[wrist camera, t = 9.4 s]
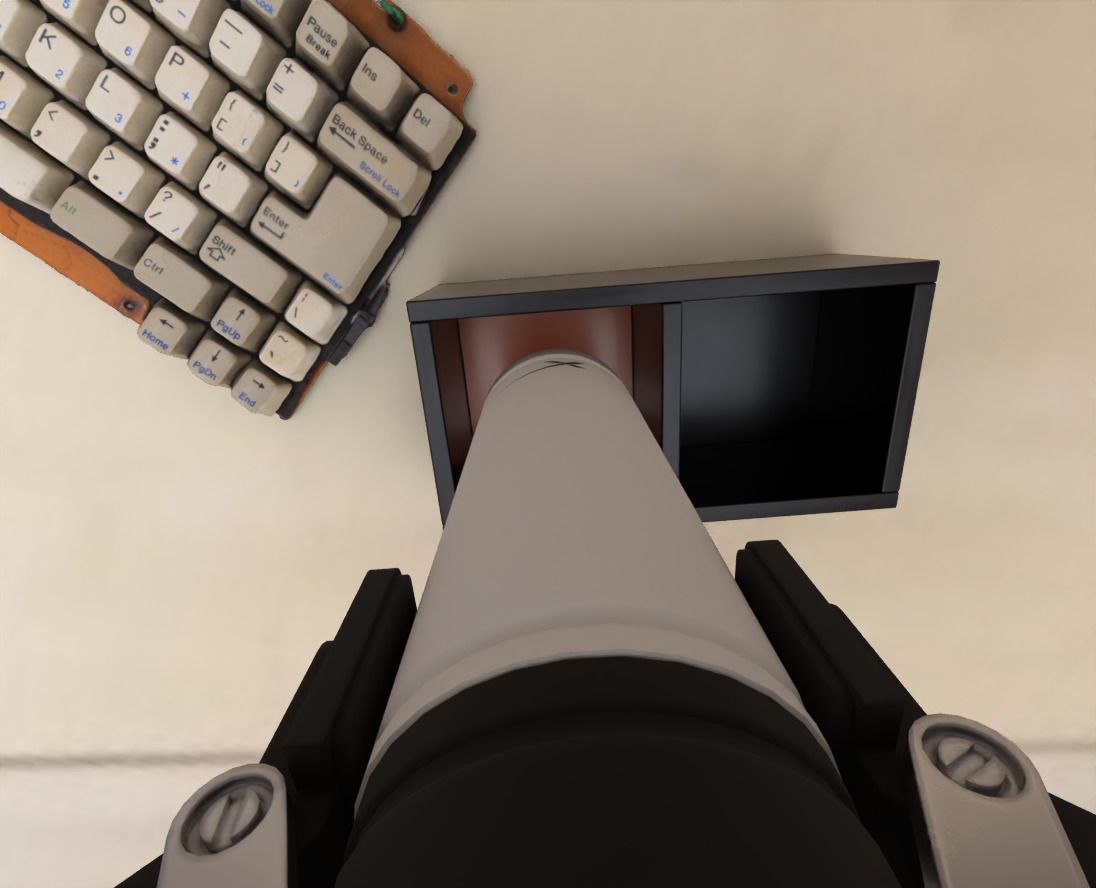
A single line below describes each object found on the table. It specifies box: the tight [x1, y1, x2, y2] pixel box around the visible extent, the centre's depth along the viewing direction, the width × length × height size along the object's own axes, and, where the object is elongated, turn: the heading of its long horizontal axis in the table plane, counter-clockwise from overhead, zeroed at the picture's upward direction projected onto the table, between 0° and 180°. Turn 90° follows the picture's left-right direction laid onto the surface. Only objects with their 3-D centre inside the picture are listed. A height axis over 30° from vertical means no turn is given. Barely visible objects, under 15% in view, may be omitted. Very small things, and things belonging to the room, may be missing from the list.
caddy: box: [406, 254, 940, 530], centre depth 26 cm, size 10×20×8 cm, turn 94°
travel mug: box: [334, 349, 902, 888], centre depth 13 cm, size 6×7×20 cm
